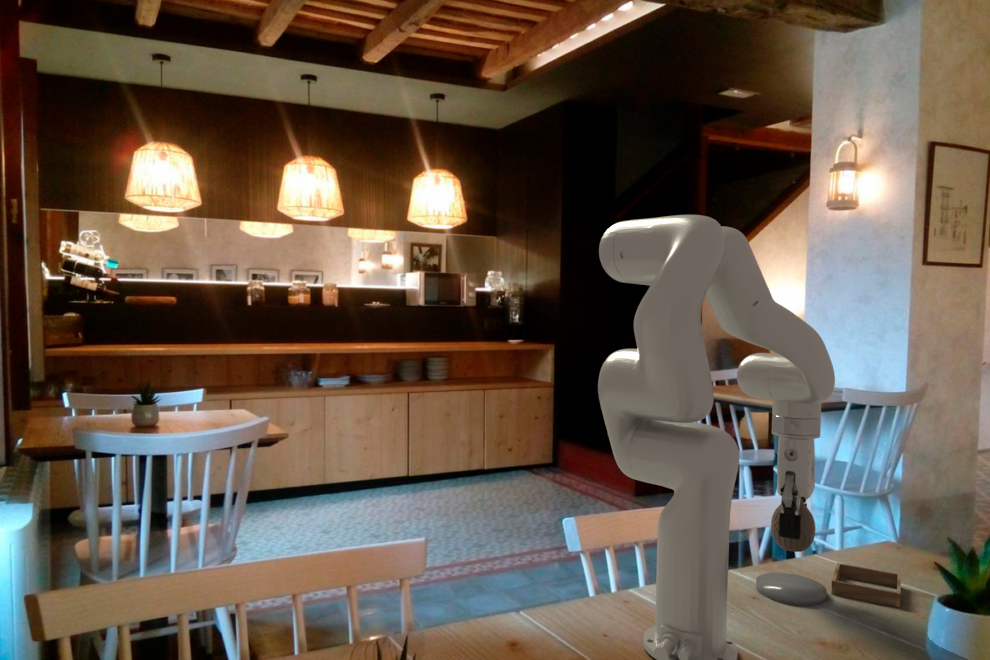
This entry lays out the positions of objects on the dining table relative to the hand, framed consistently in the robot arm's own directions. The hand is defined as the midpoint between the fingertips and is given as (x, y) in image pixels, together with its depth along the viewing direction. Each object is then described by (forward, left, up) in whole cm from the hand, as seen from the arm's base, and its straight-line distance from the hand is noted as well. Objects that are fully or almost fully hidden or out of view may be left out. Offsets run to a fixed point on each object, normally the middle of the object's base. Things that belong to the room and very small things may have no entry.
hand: (793, 530), depth 119 cm
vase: (0, 0, -3) cm, 3 cm away
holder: (+8, -11, -10) cm, 17 cm away
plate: (0, 0, -10) cm, 10 cm away
